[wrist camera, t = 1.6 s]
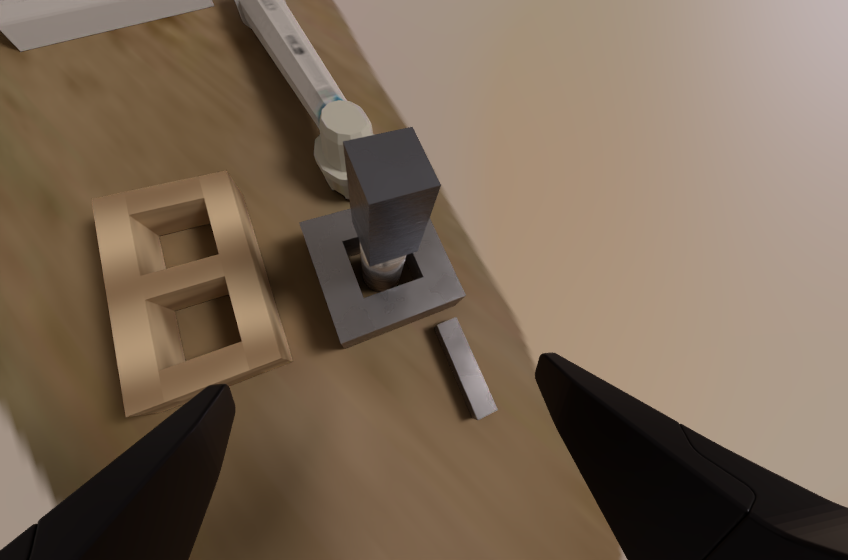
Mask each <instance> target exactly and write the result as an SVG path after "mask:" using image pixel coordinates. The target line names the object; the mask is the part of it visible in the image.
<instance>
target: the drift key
mask: <svg viewBox="0 0 848 560" xmlns="http://www.w3.org/2000/svg"><path fill="white" fill-rule="evenodd" d="M434 329H435V332H436V334H437V336H438V339H439V341H440V343H441V346H442V348H443V350H444V353H445V355H446V357H447V360H448V362H449V364H450V367H451V369H452V371H453V374H454V376H455V378H456V381H457V383H458V386H459V388H460V390H461V393H462V395H463V397H464V400H465V402H466V404H467V407H468V409H469V411H470V414H471V416H472V418H473V419H476V420H479V419H481V418H483V417H485V416H487V415H489V414H491V413H493V412H495V411H497V410H498V409H497V407H496V405H495V403H494V400H493V398H492V396H491V394H490V391H489V389H488V387H487V385H486V383H485V380H484V378H483V376H482V374H481V371H480V369H479V367H478V365H477V362H476V360H475V358H474V356H473V354H472V351H471V349H470V347H469V345H468V342H467V340H466V338H465V336H464V333H463V331H462V329H461V327H460V325H459V322H458V320H457V318H456V317H455V318H453V319H451V320H448V321H446V322H443V323H441V324H438V325H436V326H435V327H434Z"/></svg>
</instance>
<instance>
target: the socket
mask: <svg viewBox="0 0 848 560" xmlns="http://www.w3.org/2000/svg"><path fill="white" fill-rule="evenodd" d="M299 223H300V226H301V229H302V232H303V235H304V238H305V241H306V244H307V247H308V250H309V252H310V255H311V258H312V261H313V264H314V267H315V270H316V273H317V276H318V279H319V282H320V284H321V287H322V290H323V293H324V296H325V299H326V302H327V305H328V308H329V311H330V314H331V316H332V319H333V322H334V325H335V328H336V331H337V334H338V337H339V340H340V343H341V345H342V346H343V347H344V349H346V348H348V347H351V346H353V345H356V344H359V343H361V342H364V341H366V340H369V339H371V338H374V337H376V336H379V335H381V334H384V333H386V332H389V331H392V330H394V329H397V328H399V327H402V326H404V325H407V324H409V323H412V322H414V321H417V320H420V319H422V318H425V317H427V316H430V315H432V314H435V313H437V312H440V311H442V310H445V309H447V308H450V307H453V306H455V305H456V304H457V303H458V302H459V301H460V300H461V299H462V298H464V297H465V296H466V295H465V293H464V291H463V289H462V286H461V284H460V282H459V280H458V278H457V276H456V273H455V271H454V269H453V267H452V265H451V263H450V261H449V258H448V256H447V254H446V252H445V250H444V248H443V246H442V243H441V241H440V239H439V237H438V235H437V233H436V230H435V228H434V226H433V224H432V222H431V220H430V218H429V221H428V223H427V226H426V229H425V232H424V235H423V238H422V240H421V243H420V246H419V249H418V251H417V252H414V253H411V254H408V255H406V258H405V261H406V263H407V266H408V268H409V270H410V273H411V275H412V278H413V280H414V281H411V282H408V283H405V284H402V285H400V286H397V287H394V288H391V289H388V290H385V291H383V292H380V293H377V294H374V295H371V296H368V297H366V298H363V295H362V293H361V290H360V287H359V285H358V282H357V279H356V277H355V274H354V271H353V269H352V266H351V263H350V261H349V258H348V257H350V256H353V255H356V254H359V253H361V251H360V241H359V238H358V236H357V233H356V231H355V228H354V226H353V223H352V216H351V209H347V210H344V211H340V212H336V213H333V214H329V215H325V216H321V217H318V218H314V219H310V220H307V221H303V222H299Z"/></svg>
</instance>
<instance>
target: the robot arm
mask: <svg viewBox="0 0 848 560" xmlns="http://www.w3.org/2000/svg"><path fill="white" fill-rule="evenodd" d="M535 379H536V382H537V384H538V387H539V389H540V391H541V394H542V396H543V398H544V401H545V403H546V406H547V408H548V410H549V413H550V415H551V417H552V420H553V422H554V424H555V426H556V428H557V430H558V432H559V434H560V436H561V438H562V439H563V441H564V443H565V445H566V447H567V449H568V451H569V452H570V454H571V456H572V458H573V460H574V462H575V463H576V465H577V467H578V469H579V471H580V473H581V474H582V476H583V478H584V480H585V482H586V484H587V486H588V487H589V489H590V491H591V493H592V495H593V497H594V498H595V500H596V502H597V504H598V506H599V508H600V510H601V511H602V513H603V515H604V517H605V519H606V521H607V522H608V524H609V526H610V528H611V530H612V532H613V534H614V535H615V537H616V539H617V541H618V543H619V545H620V546H621V548H622V550H623V552H624V554H625V556H626V558H627V559H628V560H848V508H846V507H844V506H841V505H839V504H836V503H834V502H832V501H830V500H827V499H825V498H823V497H821V496H819V495H817V494H815V493H813V492H811V491H809V490H807V489H805V488H803V487H801V486H799V485H797V484H795V483H793V482H791V481H789V480H787V479H785V478H783V477H781V476H779V475H777V474H775V473H773V472H771V471H769V470H767V469H765V468H763V467H761V466H759V465H757V464H755V463H753V462H751V461H749V460H747V459H746V458H744V457H742V456H740V455H738V454H736V453H733V452H732V451H730V450H728V449H726V448H724V447H722V446H720V445H719V444H717V443H715V442H713V441H711V440H709V439H707V438H706V437H704V436H702V435H700V434H698V433H696V432H695V431H693V430H691V429H690V428H688V427H686V426H684V425H682V424H679V423H678V422H677V421H675V420H673V419H671V418H670V417H668V416H666V415H664V414H663V413H661V412H659V411H657V410H656V409H654V408H652V407H650V406H648V405H647V404H645V403H643V402H641V401H640V400H638V399H636V398H634V397H632V396H631V395H629V394H627V393H625V392H623V391H622V390H620V389H618V388H616V387H615V386H613V385H611V384H609V383H607V382H606V381H604V380H602V379H600V378H599V377H596V376H595V375H593V374H592V373H590V372H588V371H586V370H584V369H583V368H581V367H579V366H577V365H576V364H574V363H572V362H570V361H568V360H567V359H565V358H563V357H561V356H560V355H558V354H556V353H544V354H541V355H540V357H539V361H538V364H537V368H536V371H535ZM234 416H235V403H234V400H233V397H232V394H231V391H230V388H229V386H228V385H227V384H224V383H223V384H213V385H209V386H207V387H206V388H204V389H203V390H202V391H201V392H199V393H198V394H197V395H196V396H194V397H193V398H192V399H190V400H189V401H188V402H187V403H185V404H184V405H183V406H182V407H180V408H179V409H178V410H177V411H175V412H174V413H173V414H172V415H170V416H169V417H168V418H167V419H165V420H164V421H163V422H162V423H160V424H159V425H158V426H157V427H155V428H154V429H153V430H151V431H150V432H149V433H148V434H146V435H145V436H144V437H143V438H141V439H140V440H139V441H138V442H136V443H135V444H134V445H133V446H131V447H130V448H129V449H128V450H126V451H125V452H124V453H123V454H121V455H120V456H119V457H118V458H116V459H115V460H114V461H112V462H111V463H110V464H109V465H107V466H106V467H105V468H104V469H102V470H101V471H100V472H99V473H97V474H96V475H95V476H94V477H92V478H91V479H90V480H89V481H87V482H86V483H85V484H84V485H82V486H81V487H80V488H79V489H77V490H76V491H75V492H74V493H72V494H71V495H70V496H68V497H67V498H66V499H65V500H63V501H62V502H61V503H60V504H58V505H57V506H56V507H55V508H53V509H52V510H51V511H50V512H49V513H47V514H46V515H45V516H43V517H42V518H41V519H40V520H39V521H38V524H33V525H32V526H31V527H29V528H28V529H27V530H25V532H23V533H22V534H20V535H19V536H18V537H17V538H15V539H14V540H13V541H12V542H10V543H9V544H8V545H7V546H5V547H4V548H3V549H2V550H0V560H188V559H189V556H190V554H191V551H192V548H193V545H194V543H195V540H196V537H197V535H198V532H199V529H200V527H201V524H202V521H203V518H204V516H205V513H206V510H207V508H208V505H209V502H210V499H211V497H212V494H213V491H214V489H215V486H216V483H217V480H218V477H219V474H220V471H221V467H222V463H223V460H224V456H225V452H226V448H227V444H228V440H229V436H230V432H231V428H232V424H233V420H234Z"/></svg>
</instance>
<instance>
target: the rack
mask: <svg viewBox="0 0 848 560" xmlns="http://www.w3.org/2000/svg"><path fill="white" fill-rule="evenodd" d="M91 200H92V207H93V213H94V219H95V226H96V232H97V238H98V245H99V251H100V257H101V264H102V270H103V276H104V283H105V289H106V295H107V302H108V308H109V314H110V321H111V327H112V333H113V340H114V346H115V352H116V358H117V365H118V371H119V377H120V384H121V390H122V396H123V403H124V409H125V415H126V417H131V416H138V415H145V414H153V413H160V412H164V411H166V410H169V409H172V408H174V407H177V406H179V405H182V404H185V403H187V402H188V401H189V400H190V399H192V398H193V397H194V396H196V395H197V394H198V393H199V392H201V391H202V390H203V389H204V388H206V387H207V386H209V385H213V384H223V383H224V384H227V385H228V386H231V385H234V384H236V383H239V382H241V381H244V380H247V379H249V378H252V377H254V376H257V375H259V374H262V373H265V372H267V371H270V370H272V369H275V368H278V367H280V366H283V365H285V364H288V363H291V362H293V360H292V356H291V353H290V350H289V346H288V343H287V340H286V336H285V333H284V330H283V326H282V323H281V320H280V316H279V313H278V310H277V306H276V303H275V300H274V296H273V293H272V290H271V286H270V283H269V280H268V276H267V273H266V270H265V266H264V263H263V260H262V256H261V253H260V250H259V246H258V243H257V240H256V236H255V233H254V230H253V226H252V223H251V220H250V216H249V213H248V210H247V206H246V203H245V200H244V196H243V194H242V193H241V191H240V190H239V188H238V187H237V185H236V184H235V182H234V181H233V179H232V178H231V176H230V175H229V173H228V172H227V170H226V171H221V172H216V173H211V174H207V175H202V176H197V177H193V178H188V179H183V180H178V181H174V182H169V183H164V184H159V185H155V186H150V187H145V188H140V189H136V190H131V191H126V192H121V193H117V194H112V195H107V196H103V197H98V198H93V199H91ZM209 223H211V226H212V230H213V234H214V237H215V241H216V245H217V249H218V253H219V254H218V255H214V256H210V257H207V258H203V259H200V260H196V261H192V262H189V263H185V264H182V265H178V266H174V267H171V268H167V269H166V267H165V262H164V258H163V253H162V248H161V243H160V239H159V236H162V235H166V234H170V233H174V232H178V231H182V230H185V229H189V228H193V227H197V226H201V225H205V224H209ZM228 294H230V298H231V302H232V306H233V310H234V313H235V317H236V321H237V325H238V329H239V332H240V336H241V340H242V341H241V342H239V343H236V344H233V345H230V346H227V347H224V348H222V349H219V350H216V351H213V352H210V353H207V354H205V355H202V356H199V357H196V358H193V359H191V360H188V361H186V360H185V356H184V351H183V346H182V342H181V337H180V332H179V328H178V323H177V318H176V314H175V311H177V310H180V309H183V308H186V307H190V306H193V305H196V304H199V303H202V302H206V301H209V300H212V299H215V298H218V297H222V296H225V295H228Z"/></svg>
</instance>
